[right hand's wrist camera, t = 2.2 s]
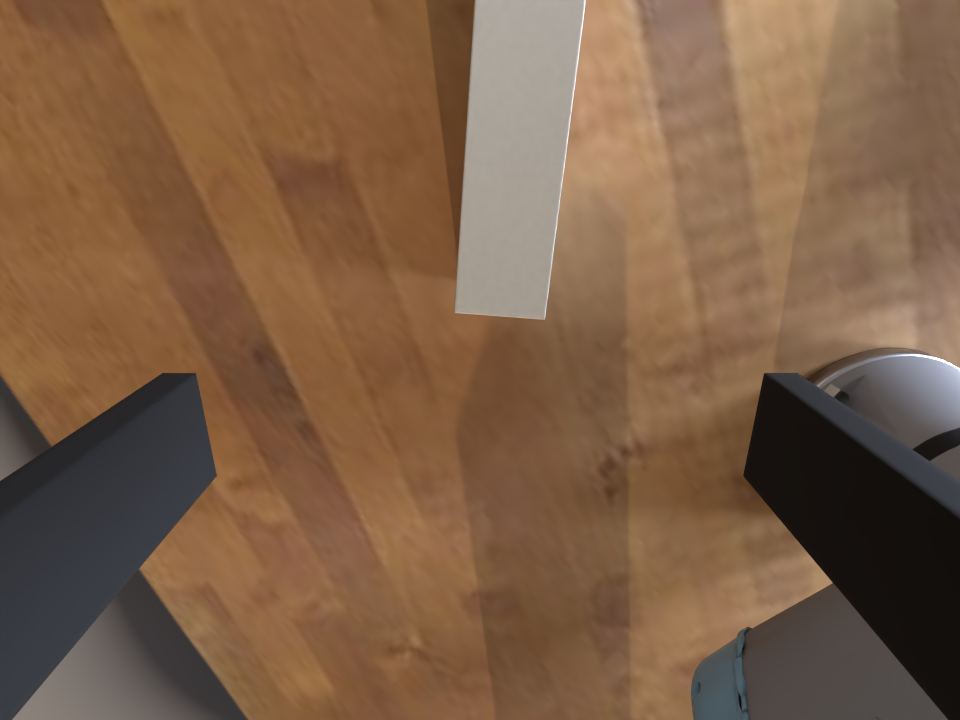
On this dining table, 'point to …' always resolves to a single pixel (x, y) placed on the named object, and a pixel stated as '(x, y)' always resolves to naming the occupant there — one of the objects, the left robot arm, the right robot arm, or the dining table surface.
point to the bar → (515, 152)
